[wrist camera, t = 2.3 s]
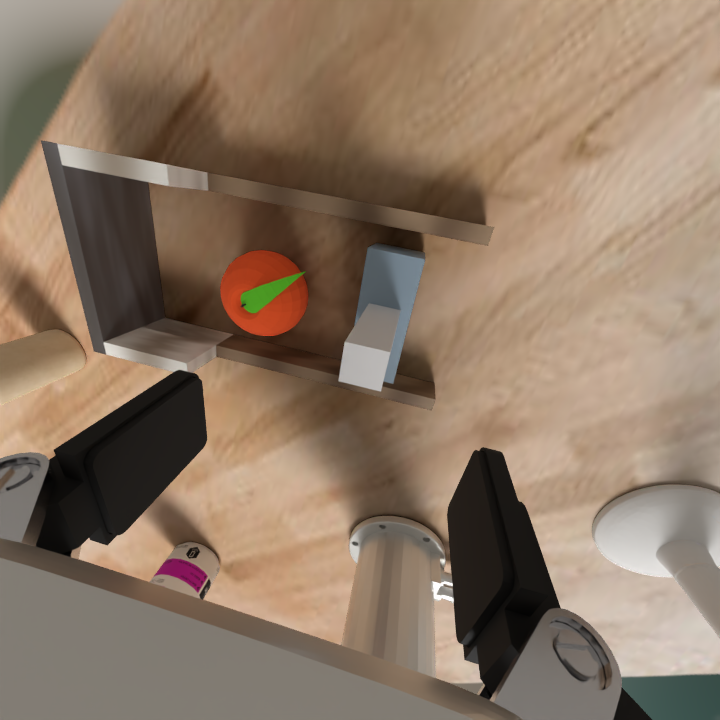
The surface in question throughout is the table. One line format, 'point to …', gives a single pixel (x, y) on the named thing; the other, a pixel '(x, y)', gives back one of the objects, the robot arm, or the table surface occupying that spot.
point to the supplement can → (188, 570)
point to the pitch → (141, 271)
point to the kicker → (381, 316)
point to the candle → (37, 362)
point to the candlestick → (667, 539)
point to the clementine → (264, 293)
